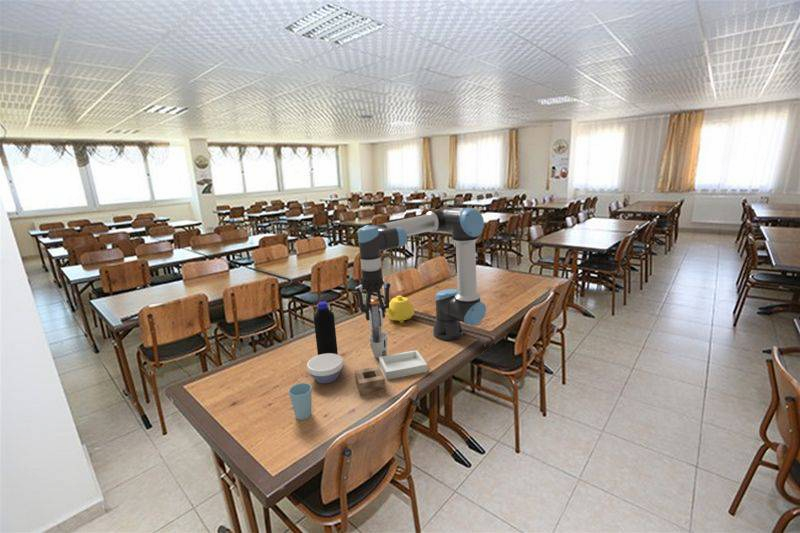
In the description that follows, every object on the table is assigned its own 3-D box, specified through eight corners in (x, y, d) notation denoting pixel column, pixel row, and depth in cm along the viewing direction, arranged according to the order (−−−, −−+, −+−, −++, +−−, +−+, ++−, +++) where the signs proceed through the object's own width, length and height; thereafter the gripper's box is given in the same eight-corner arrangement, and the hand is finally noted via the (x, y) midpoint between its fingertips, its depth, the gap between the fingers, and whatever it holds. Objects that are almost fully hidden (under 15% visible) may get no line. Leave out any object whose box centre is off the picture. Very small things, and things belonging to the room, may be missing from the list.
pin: (381, 337, 149) (378, 297, 145) (384, 342, 145) (381, 301, 140) (370, 339, 148) (366, 299, 144) (372, 344, 144) (368, 303, 139)
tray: (417, 356, 168) (417, 350, 168) (427, 371, 156) (427, 364, 155) (379, 363, 164) (378, 356, 163) (386, 379, 151) (386, 372, 150)
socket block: (379, 377, 153) (379, 366, 152) (385, 390, 144) (384, 378, 143) (355, 381, 151) (354, 370, 150) (359, 395, 141) (358, 383, 140)
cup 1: (308, 405, 137) (304, 380, 134) (318, 415, 131) (315, 388, 129) (288, 415, 132) (284, 389, 129) (298, 425, 126) (294, 398, 124)
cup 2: (386, 360, 166) (384, 340, 164) (368, 359, 168) (367, 339, 166) (390, 351, 174) (389, 332, 172) (373, 351, 176) (372, 331, 173)
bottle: (342, 358, 170) (336, 300, 163) (330, 367, 163) (324, 307, 155) (326, 355, 174) (320, 298, 167) (314, 364, 166) (307, 305, 159)
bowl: (327, 391, 145) (325, 374, 143) (301, 382, 152) (299, 365, 151) (351, 374, 157) (350, 357, 155) (325, 365, 164) (324, 350, 162)
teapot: (398, 329, 198) (397, 305, 195) (376, 323, 208) (374, 300, 204) (419, 317, 213) (418, 294, 210) (398, 311, 223) (397, 290, 219)
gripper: (390, 263, 144) (394, 319, 150) (347, 269, 140) (353, 326, 146) (395, 268, 137) (399, 326, 143) (350, 274, 133) (356, 334, 139)
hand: (376, 326), depth 145 cm, fingers closed on pin, 3 cm apart
